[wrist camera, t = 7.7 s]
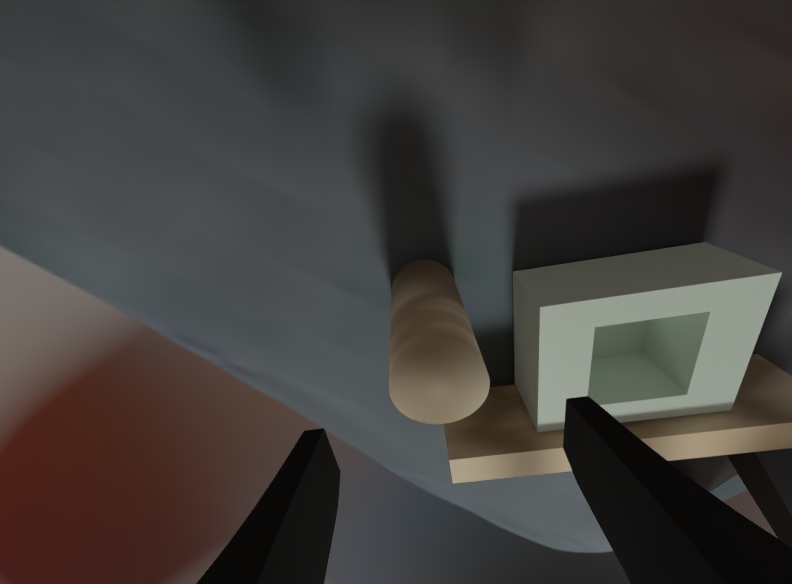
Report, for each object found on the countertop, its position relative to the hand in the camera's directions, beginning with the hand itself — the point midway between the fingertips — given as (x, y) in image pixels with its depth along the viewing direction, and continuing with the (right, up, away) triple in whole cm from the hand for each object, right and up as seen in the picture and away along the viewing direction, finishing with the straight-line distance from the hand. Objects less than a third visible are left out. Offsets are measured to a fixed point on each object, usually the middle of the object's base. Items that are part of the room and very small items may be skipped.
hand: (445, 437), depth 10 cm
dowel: (0, +5, +9) cm, 10 cm away
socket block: (+11, +3, +10) cm, 15 cm away
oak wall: (+11, -2, +12) cm, 17 cm away
